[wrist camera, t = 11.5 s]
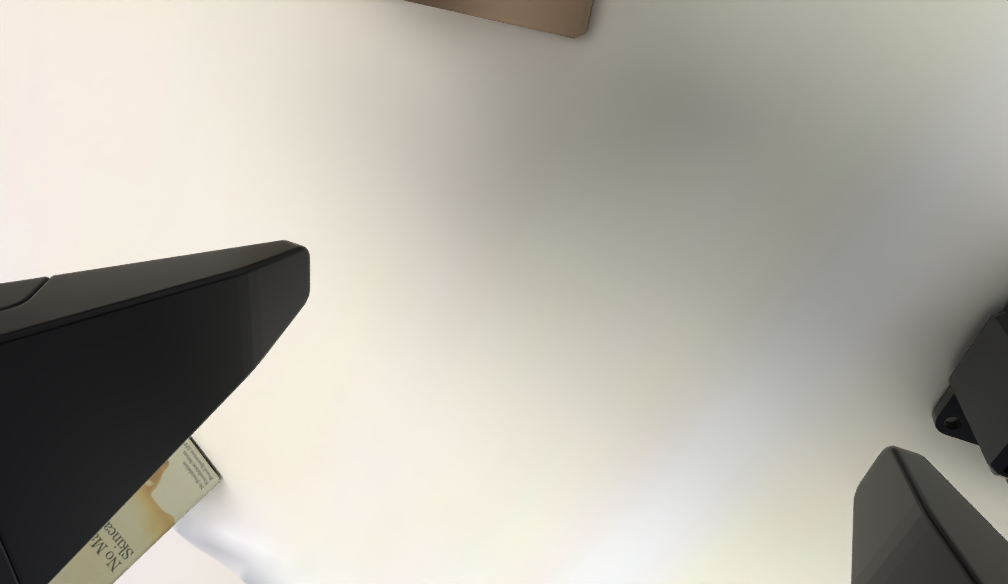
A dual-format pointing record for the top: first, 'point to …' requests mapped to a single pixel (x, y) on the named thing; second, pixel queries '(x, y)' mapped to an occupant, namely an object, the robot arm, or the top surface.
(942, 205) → the top surface
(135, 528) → the skincare box
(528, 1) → the display stand
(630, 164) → the top surface
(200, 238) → the top surface
